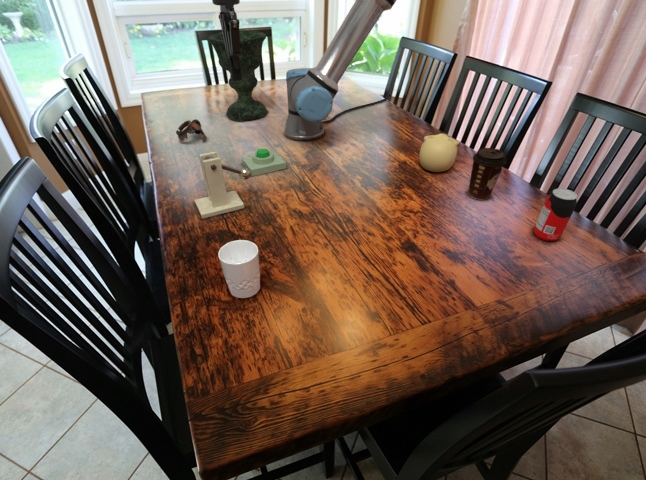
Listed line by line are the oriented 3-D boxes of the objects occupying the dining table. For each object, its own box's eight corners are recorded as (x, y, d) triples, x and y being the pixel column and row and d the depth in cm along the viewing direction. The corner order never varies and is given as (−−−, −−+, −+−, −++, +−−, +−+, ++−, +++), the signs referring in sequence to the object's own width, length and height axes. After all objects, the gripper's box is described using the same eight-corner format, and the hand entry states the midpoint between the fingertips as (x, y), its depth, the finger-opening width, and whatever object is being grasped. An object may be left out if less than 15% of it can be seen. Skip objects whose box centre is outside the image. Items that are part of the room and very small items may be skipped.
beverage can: (557, 246, 93) (579, 203, 85) (529, 238, 95) (548, 196, 88) (560, 233, 97) (581, 191, 89) (534, 225, 99) (552, 184, 92)
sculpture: (455, 163, 128) (463, 131, 121) (449, 178, 119) (456, 145, 112) (422, 157, 131) (427, 126, 124) (413, 172, 123) (418, 139, 116)
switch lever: (246, 177, 109) (250, 167, 107) (249, 182, 107) (254, 172, 105) (202, 164, 101) (206, 153, 100) (205, 169, 99) (209, 158, 97)
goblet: (282, 110, 169) (277, 32, 150) (249, 126, 155) (238, 42, 135) (245, 102, 178) (235, 28, 159) (210, 117, 164) (195, 37, 144)
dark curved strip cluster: (205, 146, 141) (189, 129, 135) (186, 155, 145) (170, 139, 140) (212, 126, 148) (197, 109, 142) (194, 135, 152) (179, 119, 146)
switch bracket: (235, 193, 113) (227, 146, 104) (244, 208, 107) (236, 158, 98) (195, 203, 109) (182, 154, 100) (202, 218, 103) (189, 168, 94)
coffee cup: (494, 190, 114) (508, 148, 105) (494, 204, 108) (509, 161, 99) (464, 186, 116) (475, 144, 107) (462, 199, 110) (474, 156, 101)
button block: (275, 157, 133) (274, 146, 130) (286, 168, 126) (285, 157, 123) (242, 164, 129) (240, 152, 126) (251, 176, 122) (250, 164, 119)
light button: (266, 152, 127) (266, 147, 126) (270, 157, 124) (270, 152, 123) (255, 154, 126) (254, 149, 125) (259, 159, 123) (258, 154, 122)
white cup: (228, 276, 85) (220, 240, 79) (263, 274, 86) (258, 238, 79) (224, 301, 79) (215, 265, 73) (262, 299, 80) (257, 262, 73)
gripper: (204, -15, 107) (219, 76, 122) (216, -11, 98) (231, 86, 113) (230, -16, 109) (242, 73, 125) (244, -12, 101) (255, 83, 116)
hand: (237, 79), depth 119 cm, fingers closed
